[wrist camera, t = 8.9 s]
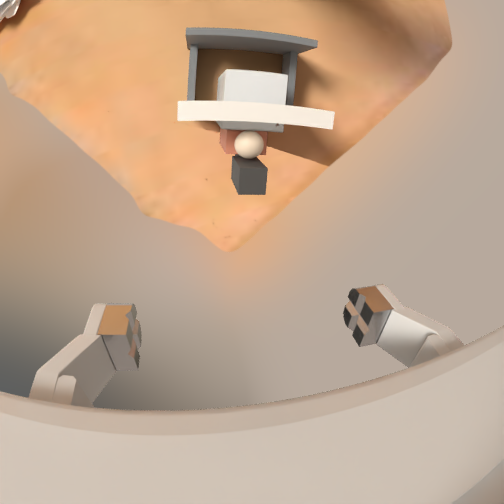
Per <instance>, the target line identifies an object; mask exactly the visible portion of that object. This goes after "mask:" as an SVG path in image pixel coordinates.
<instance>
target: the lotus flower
mask: <svg viewBox="0 0 504 504" xmlns="http://www.w3.org/2000/svg"><path fill="white" fill-rule="evenodd" d="M20 1H21V0H0V21H1V20H2V19H3V18H4V17H6V18H10V17H12V16H13V15H15V14H16V12H17V9H18V7H19V4H20Z"/></svg>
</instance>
